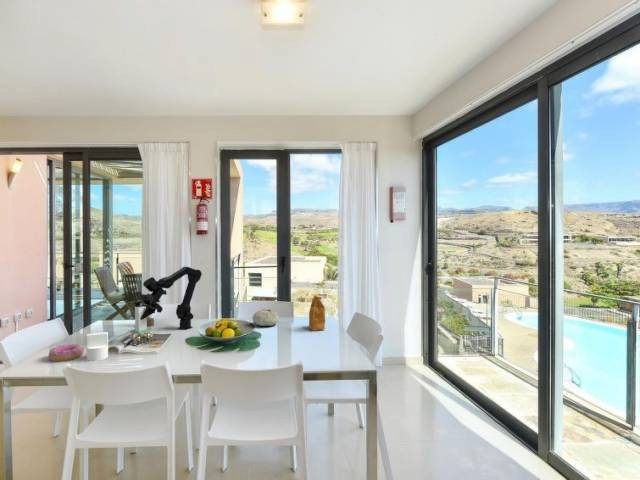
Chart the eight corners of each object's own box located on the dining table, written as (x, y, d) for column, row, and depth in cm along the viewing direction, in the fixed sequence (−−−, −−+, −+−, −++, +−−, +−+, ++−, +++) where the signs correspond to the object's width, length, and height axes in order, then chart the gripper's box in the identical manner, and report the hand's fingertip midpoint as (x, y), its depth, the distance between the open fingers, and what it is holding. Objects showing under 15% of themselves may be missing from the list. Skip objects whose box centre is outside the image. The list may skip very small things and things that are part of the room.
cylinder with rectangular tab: (85, 362, 172) (85, 337, 171) (88, 356, 180) (87, 332, 179) (107, 359, 176) (107, 334, 176) (108, 353, 184) (108, 330, 184)
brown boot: (154, 324, 241) (154, 298, 241) (151, 326, 237) (151, 299, 237) (140, 324, 241) (140, 298, 241) (137, 326, 237) (137, 299, 236)
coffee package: (321, 325, 242) (322, 293, 241) (326, 330, 230) (326, 296, 229) (307, 326, 240) (307, 294, 239) (311, 331, 227) (311, 297, 227)
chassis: (142, 337, 212) (142, 330, 212) (156, 340, 207) (156, 333, 207) (123, 342, 201) (123, 335, 201) (137, 346, 196) (137, 338, 196)
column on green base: (142, 328, 209) (142, 305, 208) (152, 330, 205) (151, 306, 205) (130, 332, 202) (129, 307, 201) (139, 334, 198) (139, 309, 198)
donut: (78, 351, 188) (78, 341, 188) (88, 357, 179) (88, 347, 179) (44, 358, 177) (44, 348, 177) (53, 365, 168) (53, 354, 168)
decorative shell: (277, 328, 234) (277, 313, 234) (250, 328, 235) (250, 313, 234) (280, 321, 252) (280, 307, 252) (255, 321, 252) (255, 307, 252)
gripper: (135, 287, 210) (118, 309, 201) (158, 289, 203) (141, 312, 193) (147, 298, 218) (131, 320, 208) (169, 300, 210) (153, 323, 200)
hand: (138, 319), depth 202 cm, fingers closed on column on green base, 3 cm apart
